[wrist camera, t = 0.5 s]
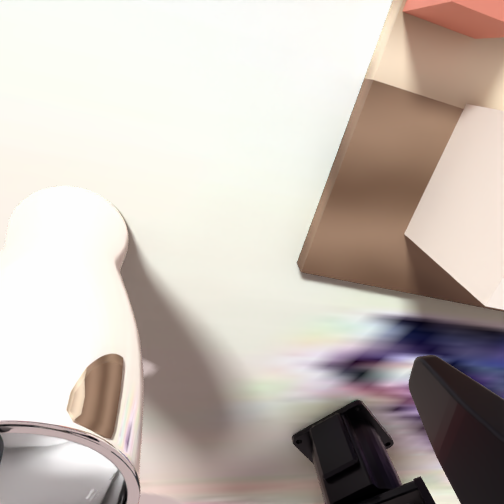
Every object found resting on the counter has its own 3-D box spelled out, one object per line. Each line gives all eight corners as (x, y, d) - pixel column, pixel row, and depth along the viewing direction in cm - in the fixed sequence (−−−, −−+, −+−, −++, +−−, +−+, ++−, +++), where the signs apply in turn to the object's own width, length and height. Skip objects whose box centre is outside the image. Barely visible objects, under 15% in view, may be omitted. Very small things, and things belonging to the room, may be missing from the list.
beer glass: (37, 149, 19) (-130, 376, 7) (160, 218, 23) (201, 455, 10) (-26, 257, 21) (-253, 600, 8) (97, 306, 24) (67, 602, 12)
